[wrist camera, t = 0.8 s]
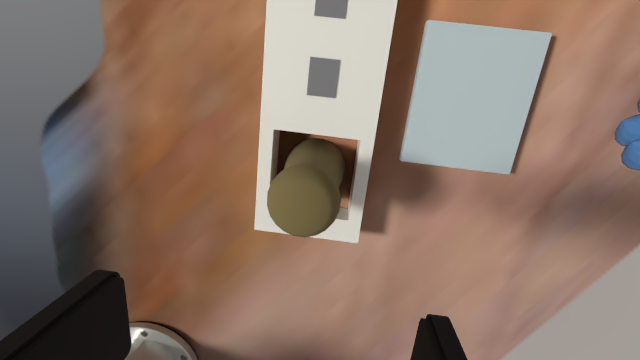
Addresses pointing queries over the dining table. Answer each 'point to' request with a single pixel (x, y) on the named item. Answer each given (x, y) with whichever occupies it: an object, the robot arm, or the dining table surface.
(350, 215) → the white board with cutout
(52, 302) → the robot arm
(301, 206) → the olive rounded piece
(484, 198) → the dining table surface
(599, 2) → the dining table surface
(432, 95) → the rubber mat
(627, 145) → the grapes
